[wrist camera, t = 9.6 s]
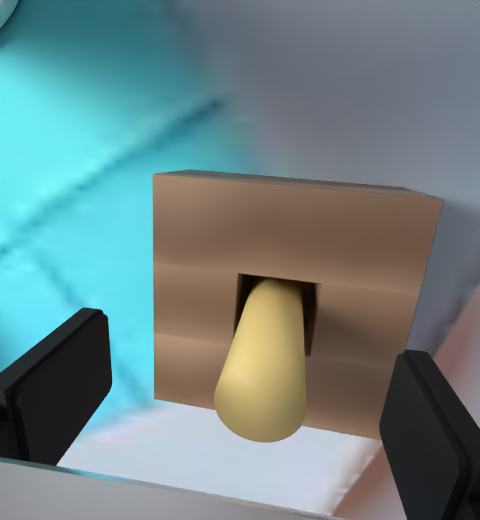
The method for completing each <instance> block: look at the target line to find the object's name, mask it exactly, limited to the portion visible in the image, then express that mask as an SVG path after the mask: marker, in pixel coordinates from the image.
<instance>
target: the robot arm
mask: <svg viewBox="0 0 480 520" xmlns="http://www.w3.org/2000/svg"><path fill="white" fill-rule="evenodd" d="M17 2H18V0H0V28H1V27H2V26H3V24H4V23H5V22H6V20H7V19H8V18H9V17H10V15H11V14H12V12H13V10H14V8H15V6H16V4H17ZM111 386H112V370H111V355H110V341H109V327H108V317H107V315H105V314H104V313H103V311H102V310H100V309H92V308H82V309H80V310H79V311H78V312H77V313H75V314H74V315H73V316H72V317H70V318H69V319H68V320H67V321H65V322H64V323H63V324H62V325H60V326H59V327H58V328H56V329H55V330H54V331H53V332H51V333H50V334H49V335H48V336H46V337H45V338H44V339H43V340H41V341H40V342H39V343H38V344H36V345H35V346H34V347H32V348H31V349H30V350H29V351H27V352H26V353H25V354H24V355H22V356H21V357H20V358H19V359H17V360H16V361H15V362H13V363H12V364H11V365H10V366H8V367H7V368H6V369H5V370H3V371H2V372H1V373H0V520H348V519H342V518H337V517H332V516H327V515H322V514H316V513H311V512H306V511H300V510H295V509H290V508H285V507H279V506H274V505H269V504H264V503H258V502H253V501H247V500H242V499H236V498H231V497H226V496H220V495H215V494H209V493H204V492H198V491H193V490H187V489H182V488H176V487H171V486H165V485H160V484H154V483H149V482H144V481H138V480H132V479H127V478H121V477H115V476H110V475H104V474H98V473H93V472H87V471H81V470H76V469H70V468H64V467H59V466H56V465H57V464H58V462H59V461H60V459H61V458H62V457H63V455H64V454H65V452H66V451H67V450H68V448H69V447H70V446H71V444H72V443H73V441H74V440H75V439H76V437H77V436H78V435H79V433H80V432H81V430H82V429H83V428H84V426H85V425H86V423H87V422H88V421H89V419H90V418H91V417H92V415H93V414H94V412H95V411H96V410H97V408H98V407H99V405H100V404H101V403H102V401H103V400H104V399H105V397H106V396H107V394H108V393H109V391H110V389H111ZM379 431H380V436H381V439H382V442H383V446H384V449H385V451H386V455H387V458H388V461H389V464H390V467H391V470H392V473H393V477H394V480H395V483H396V486H397V489H398V492H399V495H400V498H401V501H402V505H403V508H404V511H405V514H406V517H407V520H480V428H479V427H478V426H477V424H476V423H475V421H474V420H473V418H472V417H471V415H470V414H469V412H468V411H467V409H466V408H465V407H464V405H463V404H462V402H461V401H460V399H459V398H458V396H457V395H456V393H455V392H454V390H453V389H452V387H451V386H450V385H449V383H448V382H447V380H446V379H445V378H444V376H443V374H442V373H441V371H440V370H439V368H438V367H437V365H436V364H435V362H434V361H433V359H432V358H431V357H430V355H429V354H428V353H427V352H423V351H415V350H408V349H407V350H405V351H404V353H403V354H401V353H399V354H398V355H397V358H396V362H395V365H394V369H393V373H392V377H391V381H390V384H389V388H388V392H387V396H386V399H385V403H384V407H383V411H382V415H381V418H380V423H379Z"/></svg>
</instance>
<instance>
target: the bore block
mask: <svg viewBox="0 0 480 520" xmlns="http://www.w3.org/2000/svg"><path fill="white" fill-rule="evenodd" d="M442 204H443V199H440V198H436V197H433V196H429V195H426V194H423V193H419V192H416V191H412V190H409V189H405V188H402V187H390V186H378V185H366V184H354V183H343V182H331V181H319V180H307V179H295V178H284V177H272V176H260V175H248V174H236V173H225V172H213V171H201V170H183V171H174V172H166V173H157V174H153V280H154V399H158V400H164V401H169V402H175V403H180V404H186V405H191V406H196V407H202V408H207V409H213V410H216V408H215V404H214V394H215V390H216V387H217V384H218V381H219V378H220V375H221V373H222V370H223V367H224V364H225V361H226V358H227V356H228V353H229V350H230V347H231V344H232V341H233V339H234V336H235V333H236V330H237V327H238V324H239V322H240V319H241V316H242V313H243V310H244V307H245V305H246V302H247V299H248V296H249V293H250V290H251V288H252V285H253V282H254V279H255V276H256V275H258V276H266V277H274V278H282V279H290V280H298V281H302V297H303V325H304V352H305V380H306V407H307V409H306V416H305V419H304V421H303V424H302V425H301V426H306V427H312V428H317V429H323V430H328V431H334V432H339V433H345V434H350V435H356V436H361V437H367V438H372V439H378V440H382V439H381V436H380V431H379V423H380V418H381V415H382V411H383V407H384V403H385V399H386V396H387V392H388V388H389V384H390V381H391V377H392V373H393V369H394V365H395V362H396V358H397V355H398V354H399V353H401V354H403V353H404V351H405V348H406V344H407V340H408V336H409V332H410V328H411V324H412V321H413V317H414V313H415V309H416V305H417V301H418V297H419V293H420V289H421V285H422V282H423V278H424V274H425V270H426V266H427V262H428V258H429V254H430V250H431V246H432V243H433V239H434V235H435V231H436V227H437V223H438V219H439V215H440V211H441V207H442Z"/></svg>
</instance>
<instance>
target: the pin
mask: <svg viewBox="0 0 480 520" xmlns="http://www.w3.org/2000/svg"><path fill="white" fill-rule="evenodd" d="M214 404H215V408H216V412H217V414H218V416H219V418H220V419H221V421H222V422H223V423H224V424H225V425H226V426H227V427H228V428H229V429H230V430H231V431H232V432H234V433H235V434H237V435H239V436H241V437H243V438H245V439H248V440H251V441H256V442H275V441H280V440H283V439H285V438H287V437H289V436H291V435H292V434H294V433H295V432H296V431H297V430H298V429H299V428H300V427H301V425H302V424H303V421H304V419H305V416H306V409H307V407H306V380H305V352H304V325H303V297H302V281H298V280H290V279H282V278H274V277H266V276H258V275H256V276H255V279H254V282H253V285H252V288H251V290H250V293H249V296H248V299H247V302H246V305H245V307H244V310H243V313H242V316H241V319H240V322H239V324H238V327H237V330H236V333H235V336H234V339H233V341H232V344H231V347H230V350H229V353H228V356H227V358H226V361H225V364H224V367H223V370H222V373H221V375H220V378H219V381H218V384H217V387H216V390H215V394H214Z"/></svg>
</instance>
